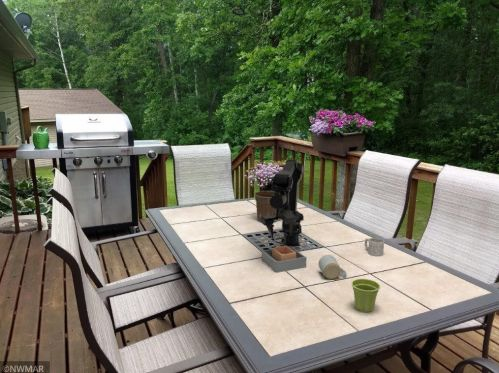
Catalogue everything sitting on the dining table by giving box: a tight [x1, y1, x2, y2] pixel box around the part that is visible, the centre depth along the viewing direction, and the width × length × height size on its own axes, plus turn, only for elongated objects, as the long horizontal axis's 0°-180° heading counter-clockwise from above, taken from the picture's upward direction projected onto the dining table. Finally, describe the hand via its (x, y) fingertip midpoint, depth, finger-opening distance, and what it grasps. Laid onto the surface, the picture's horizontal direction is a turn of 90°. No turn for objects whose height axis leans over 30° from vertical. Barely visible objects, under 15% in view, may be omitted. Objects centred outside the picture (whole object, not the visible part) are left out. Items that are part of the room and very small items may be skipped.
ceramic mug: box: [317, 254, 348, 280], centre depth 160 cm, size 11×8×8 cm
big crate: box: [261, 246, 307, 274], centre depth 172 cm, size 14×14×5 cm
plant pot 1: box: [254, 190, 277, 223], centre depth 233 cm, size 16×16×16 cm
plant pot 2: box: [351, 278, 381, 313], centre depth 134 cm, size 9×9×9 cm
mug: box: [364, 237, 385, 257], centre depth 184 cm, size 10×7×7 cm, turn 31°
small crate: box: [271, 245, 296, 262], centre depth 172 cm, size 7×9×6 cm
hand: (281, 237), depth 173 cm, fingers open, 9 cm apart
